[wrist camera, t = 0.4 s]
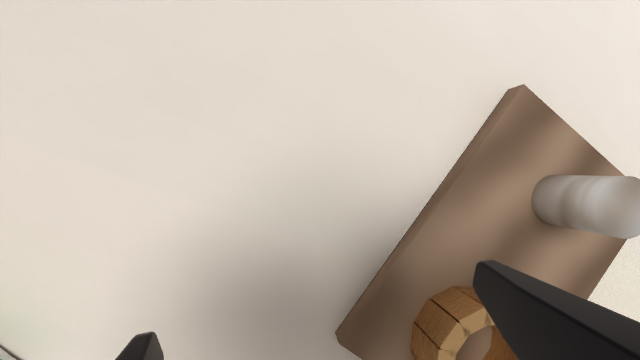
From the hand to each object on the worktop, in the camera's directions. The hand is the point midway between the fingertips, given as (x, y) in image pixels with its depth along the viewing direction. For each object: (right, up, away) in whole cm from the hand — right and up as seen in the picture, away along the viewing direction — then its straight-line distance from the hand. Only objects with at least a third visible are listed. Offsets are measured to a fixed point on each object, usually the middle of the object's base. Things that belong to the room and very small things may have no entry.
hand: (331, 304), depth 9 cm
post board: (+13, -3, +16) cm, 21 cm away
